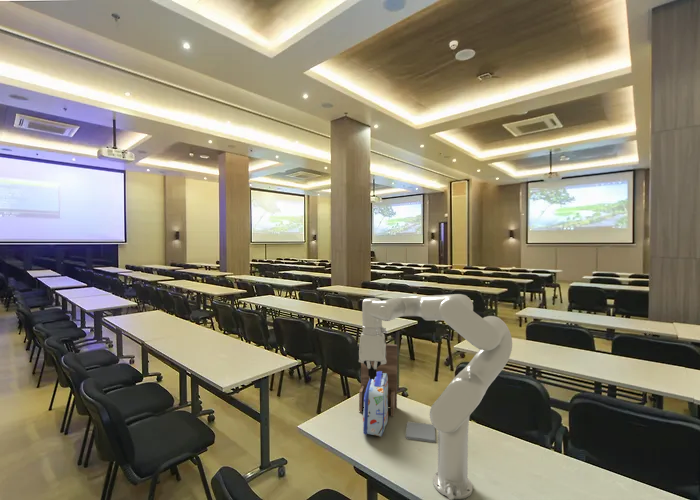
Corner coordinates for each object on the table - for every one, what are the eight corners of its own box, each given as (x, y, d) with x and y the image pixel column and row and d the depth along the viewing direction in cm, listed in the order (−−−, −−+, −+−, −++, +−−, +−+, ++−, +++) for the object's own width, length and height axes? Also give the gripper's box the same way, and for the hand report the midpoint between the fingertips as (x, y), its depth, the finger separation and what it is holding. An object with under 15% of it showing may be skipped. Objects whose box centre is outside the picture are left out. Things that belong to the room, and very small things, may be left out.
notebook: (435, 444, 136) (435, 440, 136) (405, 440, 138) (405, 436, 138) (434, 428, 147) (434, 424, 147) (407, 425, 150) (407, 421, 150)
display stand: (395, 416, 156) (395, 350, 156) (357, 412, 160) (358, 347, 160) (396, 407, 166) (397, 344, 165) (361, 403, 170) (361, 342, 169)
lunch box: (367, 408, 164) (367, 364, 164) (388, 410, 162) (388, 365, 162) (360, 440, 136) (361, 387, 136) (386, 443, 135) (386, 389, 135)
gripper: (392, 329, 130) (392, 376, 130) (355, 327, 133) (355, 373, 133) (390, 333, 123) (391, 383, 123) (351, 332, 126) (351, 380, 126)
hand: (372, 378), depth 128 cm, fingers closed
